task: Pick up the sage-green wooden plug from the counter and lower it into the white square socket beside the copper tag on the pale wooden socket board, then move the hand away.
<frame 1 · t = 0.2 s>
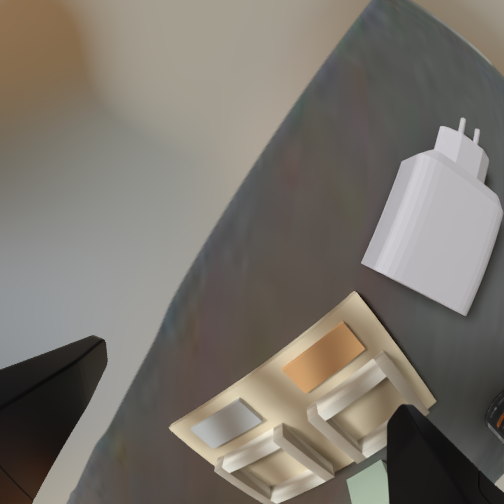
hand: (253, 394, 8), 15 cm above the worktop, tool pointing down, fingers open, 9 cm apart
plug: (372, 477, 24), on the worktop
charger: (435, 203, 22), on the worktop
socket board: (307, 422, 24), on the worktop
pill bottle: (500, 405, 22), on the worktop
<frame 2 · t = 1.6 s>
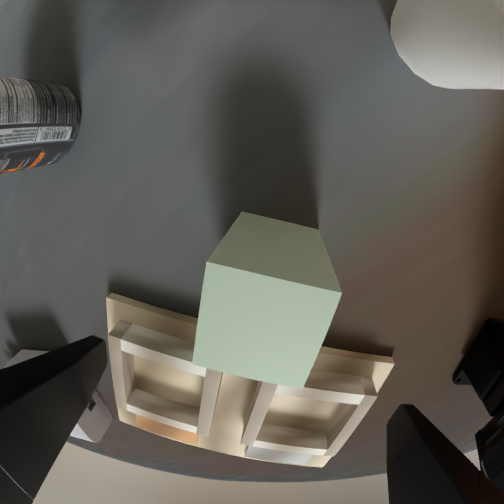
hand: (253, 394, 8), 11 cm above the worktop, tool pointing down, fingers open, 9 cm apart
plug: (271, 256, 18), on the worktop
charger: (51, 378, 26), on the worktop
foam cup: (433, 43, 12), on the worktop
socket board: (233, 402, 22), on the worktop
pill bottle: (54, 124, 16), on the worktop
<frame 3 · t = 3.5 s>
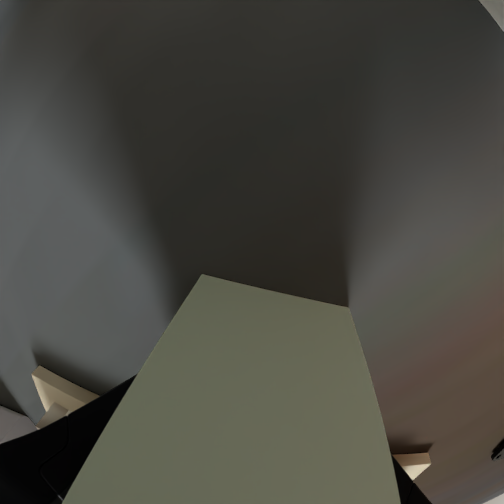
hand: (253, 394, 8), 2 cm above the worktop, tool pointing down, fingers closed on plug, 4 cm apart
plug: (260, 350, 9), on the worktop, touching gripper
charger: (14, 428, 18), on the worktop
socket board: (214, 494, 14), on the worktop
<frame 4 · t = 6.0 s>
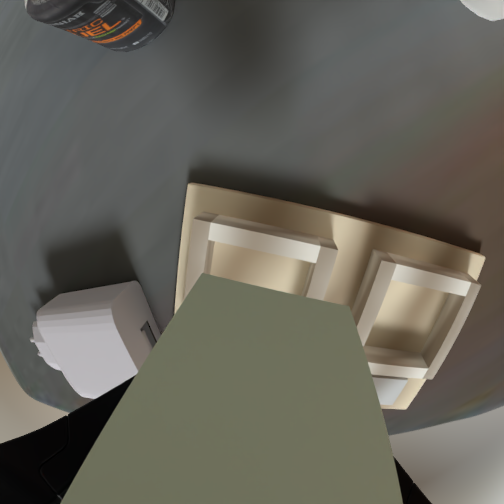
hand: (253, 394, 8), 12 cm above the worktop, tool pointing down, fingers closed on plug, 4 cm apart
plug: (260, 349, 9), point 10 cm above the worktop, touching gripper
charger: (95, 332, 24), on the worktop
socket board: (325, 320, 20), on the worktop
pill bottle: (138, 18, 15), on the worktop
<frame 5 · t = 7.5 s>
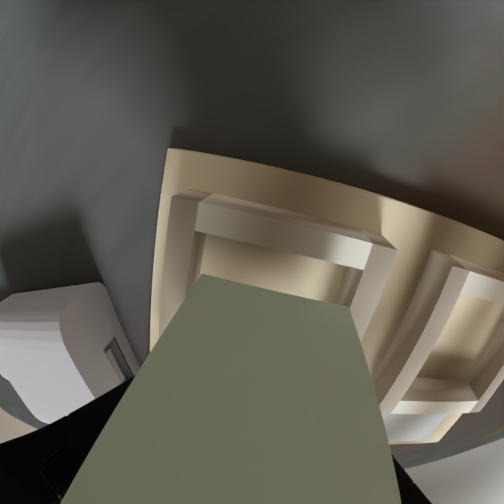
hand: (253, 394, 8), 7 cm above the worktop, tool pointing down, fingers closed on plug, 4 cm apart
plug: (260, 350, 9), point 4 cm above the worktop, touching gripper
charger: (56, 343, 18), on the worktop
socket board: (357, 346, 14), on the worktop
when the fingers open (4 cm above the worktop, at t = 8.8 s): plug drops 1 cm, resting on socket board.
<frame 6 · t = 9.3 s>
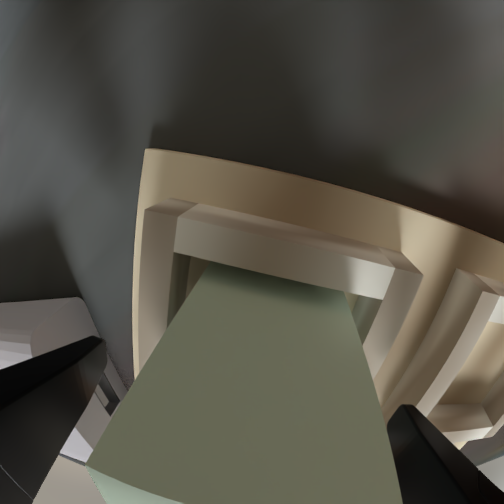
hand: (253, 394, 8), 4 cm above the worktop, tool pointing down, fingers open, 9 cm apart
plug: (264, 326, 11), point 1 cm above the worktop, touching socket board
charger: (39, 356, 15), on the worktop
socket board: (367, 374, 12), on the worktop
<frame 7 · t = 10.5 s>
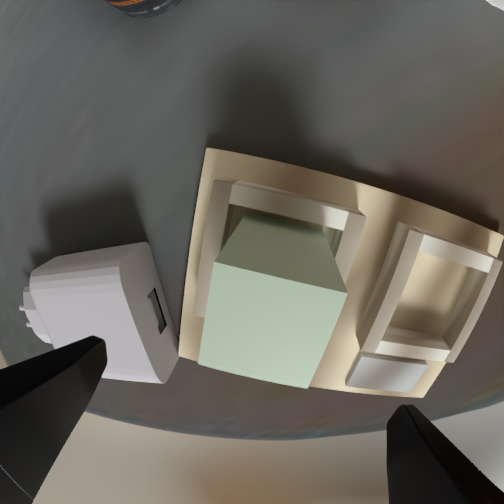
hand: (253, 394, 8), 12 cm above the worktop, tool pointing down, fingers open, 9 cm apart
plug: (276, 256, 18), point 1 cm above the worktop, touching socket board
charger: (91, 301, 22), on the worktop
socket board: (346, 298, 19), on the worktop
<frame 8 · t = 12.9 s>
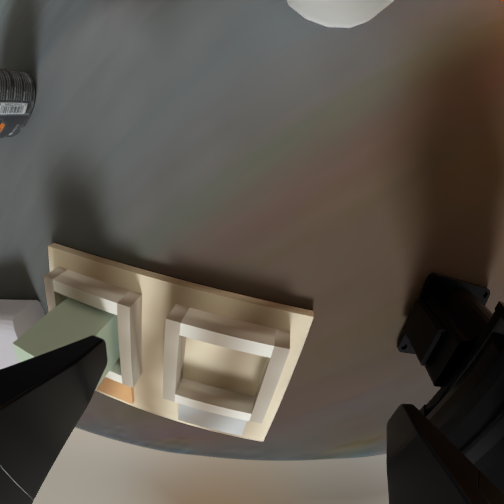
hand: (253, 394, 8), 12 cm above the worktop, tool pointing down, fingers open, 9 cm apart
plug: (99, 322, 22), point 1 cm above the worktop, touching socket board
charger: (19, 331, 26), on the worktop
socket board: (159, 355, 23), on the worktop
pill bottle: (18, 104, 17), on the worktop
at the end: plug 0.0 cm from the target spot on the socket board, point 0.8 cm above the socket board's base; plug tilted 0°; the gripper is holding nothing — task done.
